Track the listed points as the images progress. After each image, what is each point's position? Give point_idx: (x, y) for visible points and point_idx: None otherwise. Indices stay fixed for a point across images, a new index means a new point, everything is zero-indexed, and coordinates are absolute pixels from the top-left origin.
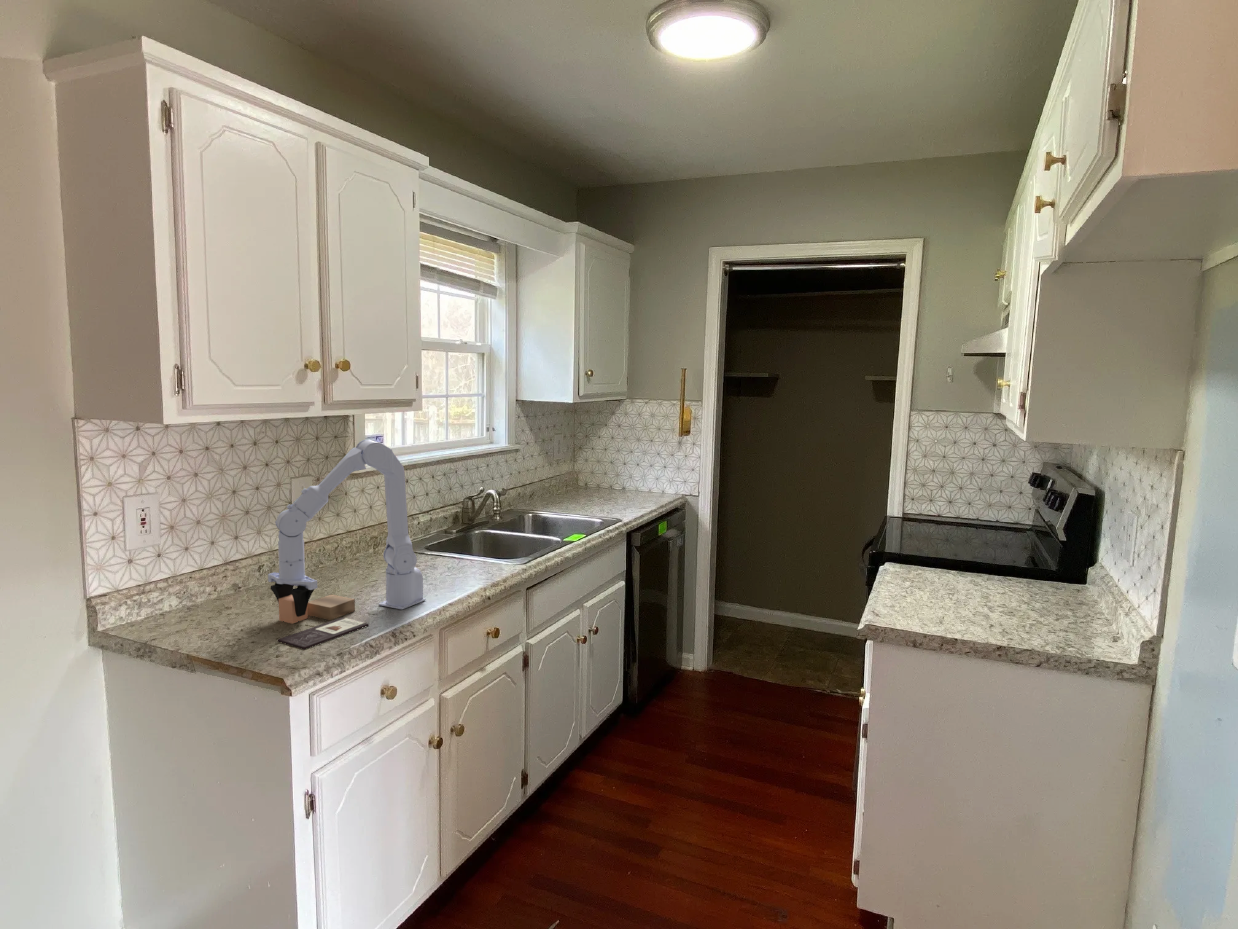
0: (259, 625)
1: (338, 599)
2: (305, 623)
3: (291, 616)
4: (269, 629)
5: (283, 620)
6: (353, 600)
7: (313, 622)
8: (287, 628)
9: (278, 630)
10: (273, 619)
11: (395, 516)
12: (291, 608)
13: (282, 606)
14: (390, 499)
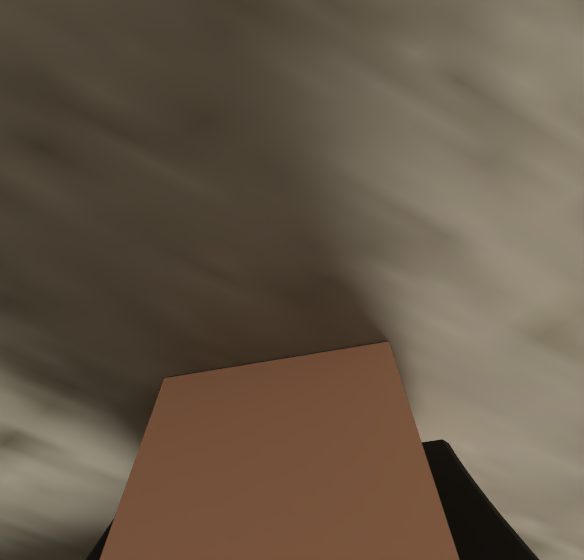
0: (440, 82)
1: None
2: (80, 456)
3: (159, 439)
4: (155, 86)
5: (315, 362)
6: None
7: (58, 508)
8: (34, 265)
9: (25, 150)
10: (493, 323)
11: None
12: (118, 547)
13: (345, 517)
14: None
